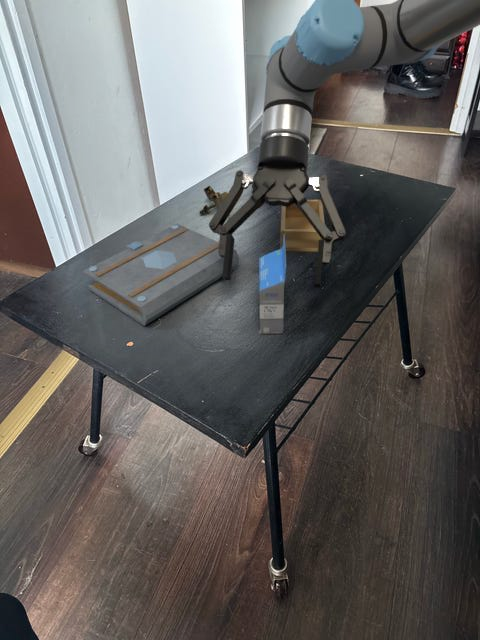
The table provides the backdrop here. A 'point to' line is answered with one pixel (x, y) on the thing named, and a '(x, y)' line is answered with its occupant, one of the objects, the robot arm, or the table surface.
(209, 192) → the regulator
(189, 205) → the table surface
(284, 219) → the tray
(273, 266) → the blue cardboard box
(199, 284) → the book
